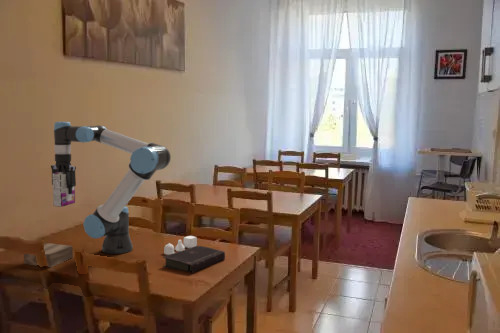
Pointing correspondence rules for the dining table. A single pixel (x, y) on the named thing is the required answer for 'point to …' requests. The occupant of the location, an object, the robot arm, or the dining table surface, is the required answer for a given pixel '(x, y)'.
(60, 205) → the candy bar box
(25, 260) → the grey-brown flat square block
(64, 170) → the robot arm
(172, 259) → the diary
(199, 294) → the dining table surface
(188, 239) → the container set
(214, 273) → the dining table surface
